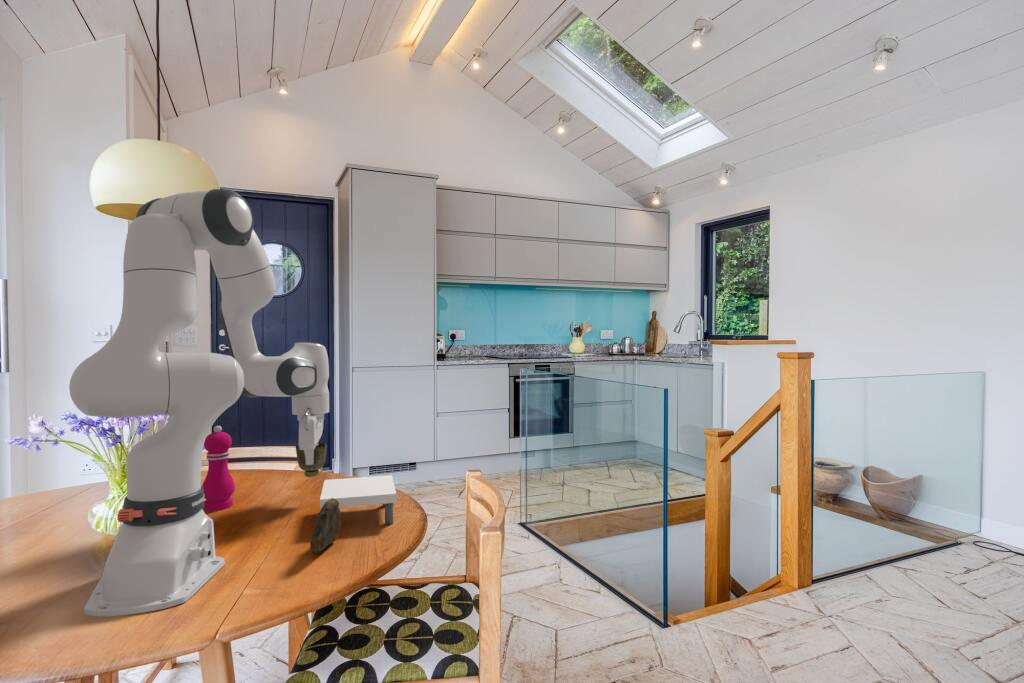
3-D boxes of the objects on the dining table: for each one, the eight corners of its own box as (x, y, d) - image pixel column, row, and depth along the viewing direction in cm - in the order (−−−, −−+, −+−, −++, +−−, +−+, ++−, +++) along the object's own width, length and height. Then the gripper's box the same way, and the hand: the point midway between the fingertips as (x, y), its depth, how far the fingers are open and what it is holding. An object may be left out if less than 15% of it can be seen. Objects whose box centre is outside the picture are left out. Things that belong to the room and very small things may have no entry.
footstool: (396, 525, 119) (396, 493, 119) (319, 532, 115) (319, 499, 115) (392, 503, 135) (392, 475, 134) (324, 508, 130) (324, 479, 130)
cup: (290, 480, 131) (290, 447, 131) (302, 472, 138) (302, 441, 139) (321, 479, 131) (321, 447, 131) (331, 472, 139) (331, 441, 139)
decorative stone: (344, 492, 108) (327, 488, 109) (321, 517, 99) (303, 513, 100) (340, 537, 111) (324, 533, 111) (318, 565, 102) (301, 562, 102)
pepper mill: (224, 512, 127) (224, 428, 127) (194, 512, 127) (194, 428, 127) (240, 502, 135) (240, 423, 134) (212, 502, 135) (211, 423, 134)
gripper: (320, 410, 126) (320, 469, 126) (327, 401, 146) (327, 452, 146) (291, 411, 124) (292, 471, 124) (302, 402, 144) (302, 454, 144)
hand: (311, 461), depth 135 cm, fingers closed on cup, 6 cm apart
